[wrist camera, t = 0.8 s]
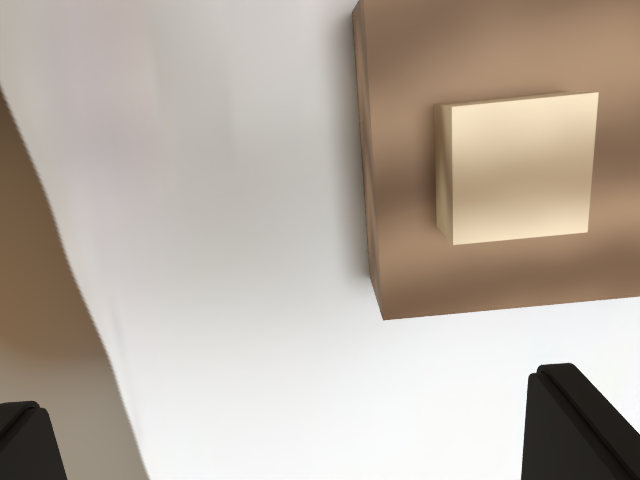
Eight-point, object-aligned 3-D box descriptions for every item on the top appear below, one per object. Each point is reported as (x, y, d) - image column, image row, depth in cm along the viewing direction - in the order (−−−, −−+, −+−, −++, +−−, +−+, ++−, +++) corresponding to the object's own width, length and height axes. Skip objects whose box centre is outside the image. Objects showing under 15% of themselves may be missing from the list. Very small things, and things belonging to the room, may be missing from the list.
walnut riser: (352, 11, 27) (363, -8, 21) (641, -18, 27) (730, -45, 21) (370, 277, 32) (383, 320, 26) (614, 254, 32) (681, 292, 26)
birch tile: (434, 103, 23) (451, 106, 20) (562, 91, 23) (598, 92, 20) (436, 226, 25) (453, 244, 22) (555, 215, 24) (587, 232, 22)
